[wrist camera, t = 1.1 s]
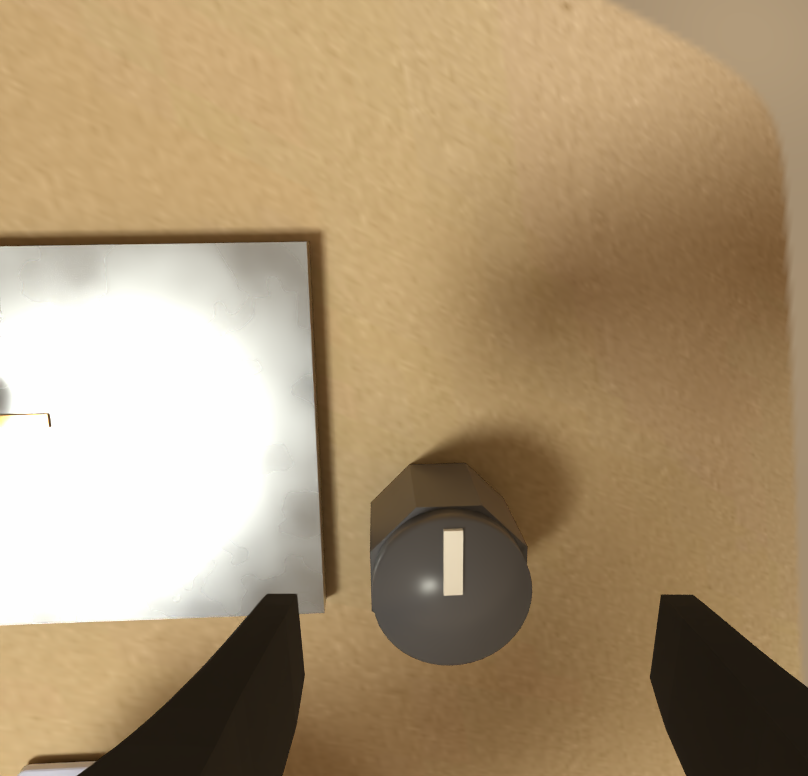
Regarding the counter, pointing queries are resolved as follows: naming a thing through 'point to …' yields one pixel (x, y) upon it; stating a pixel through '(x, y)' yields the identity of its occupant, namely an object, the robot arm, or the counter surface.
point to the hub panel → (157, 431)
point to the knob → (447, 565)
